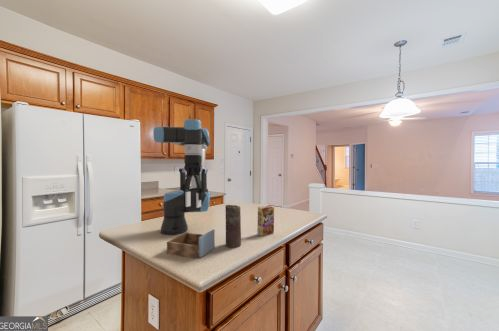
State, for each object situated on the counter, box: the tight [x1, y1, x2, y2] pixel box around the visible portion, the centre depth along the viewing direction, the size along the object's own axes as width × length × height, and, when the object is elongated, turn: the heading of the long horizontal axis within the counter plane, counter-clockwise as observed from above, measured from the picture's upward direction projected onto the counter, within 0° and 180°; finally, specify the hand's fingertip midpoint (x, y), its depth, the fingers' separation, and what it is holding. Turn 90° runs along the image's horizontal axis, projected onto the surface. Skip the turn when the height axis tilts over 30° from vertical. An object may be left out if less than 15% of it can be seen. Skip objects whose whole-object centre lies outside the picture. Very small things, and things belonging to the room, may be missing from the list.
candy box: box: [256, 205, 275, 237], centre depth 129 cm, size 9×4×15 cm, turn 123°
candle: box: [225, 204, 242, 249], centre depth 110 cm, size 8×7×20 cm
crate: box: [166, 231, 204, 259], centre depth 104 cm, size 15×14×6 cm
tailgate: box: [197, 229, 216, 259], centre depth 101 cm, size 1×12×9 cm, turn 159°
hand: (193, 206), depth 103 cm, fingers open, 5 cm apart
